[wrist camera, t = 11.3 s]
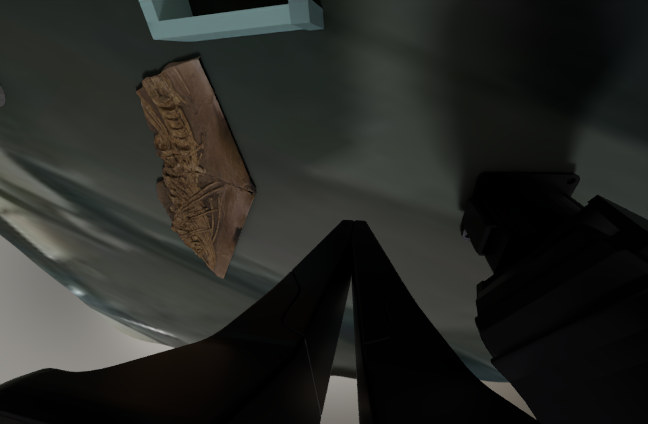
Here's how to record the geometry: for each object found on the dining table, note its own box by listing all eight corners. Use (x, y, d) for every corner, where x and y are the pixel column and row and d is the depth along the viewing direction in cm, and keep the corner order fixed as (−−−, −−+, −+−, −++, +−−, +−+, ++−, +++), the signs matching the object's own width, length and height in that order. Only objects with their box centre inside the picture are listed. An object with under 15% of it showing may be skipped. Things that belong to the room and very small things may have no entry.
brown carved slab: (129, 35, 18) (116, 34, 17) (266, 74, 18) (261, 75, 17) (176, 261, 33) (171, 266, 32) (252, 283, 33) (248, 290, 32)
